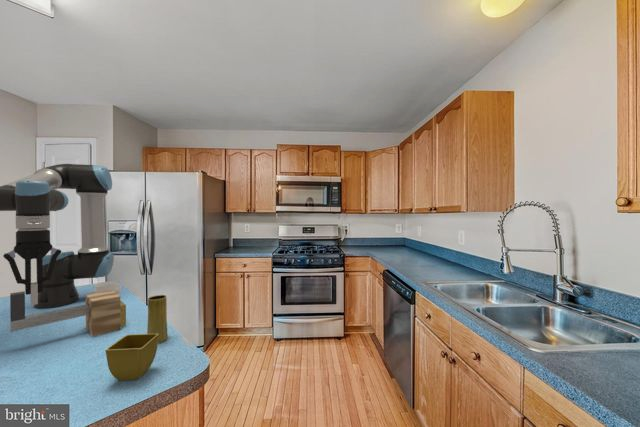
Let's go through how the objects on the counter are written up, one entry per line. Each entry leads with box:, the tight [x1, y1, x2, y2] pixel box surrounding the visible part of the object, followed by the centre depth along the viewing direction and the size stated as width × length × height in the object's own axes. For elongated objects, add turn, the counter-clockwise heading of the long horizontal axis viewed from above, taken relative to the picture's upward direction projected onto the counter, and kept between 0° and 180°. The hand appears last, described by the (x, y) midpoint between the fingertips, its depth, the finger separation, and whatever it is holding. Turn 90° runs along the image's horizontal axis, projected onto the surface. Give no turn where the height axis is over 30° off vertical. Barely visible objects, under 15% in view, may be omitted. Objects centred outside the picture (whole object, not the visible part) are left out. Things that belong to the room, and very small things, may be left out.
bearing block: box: [85, 290, 122, 338], centre depth 100 cm, size 12×8×12 cm, turn 48°
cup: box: [93, 280, 122, 297], centre depth 117 cm, size 9×9×12 cm
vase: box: [146, 294, 169, 344], centre depth 91 cm, size 6×6×14 cm
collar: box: [120, 300, 127, 328], centre depth 104 cm, size 7×2×8 cm, turn 49°
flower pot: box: [105, 333, 159, 382], centre depth 72 cm, size 9×9×9 cm
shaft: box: [9, 290, 90, 332], centre depth 93 cm, size 3×25×11 cm, turn 138°
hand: (34, 303), depth 87 cm, fingers closed
